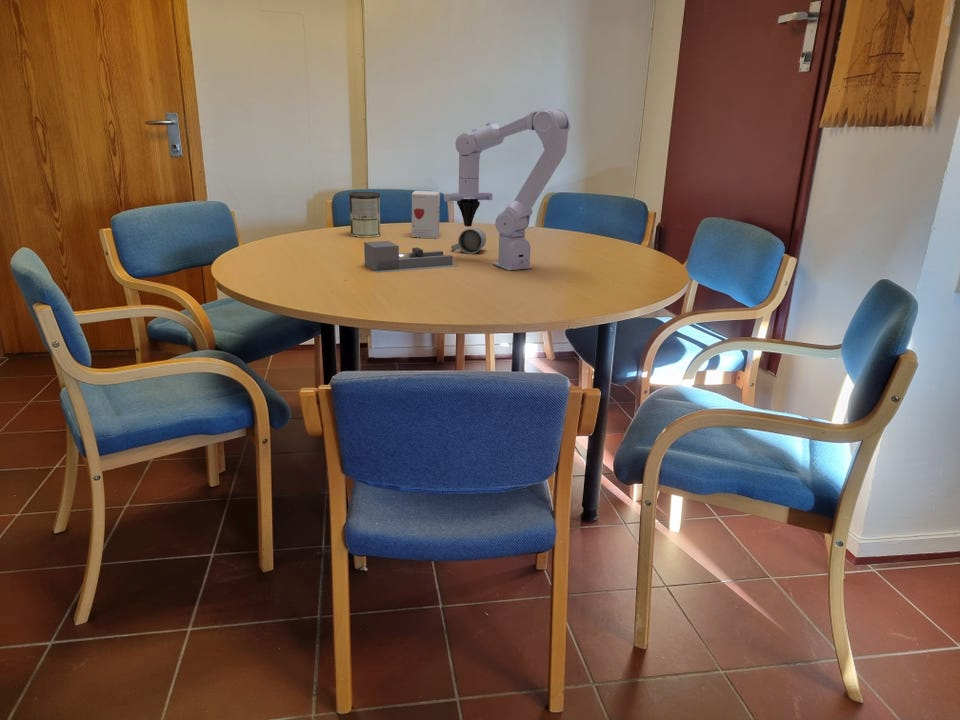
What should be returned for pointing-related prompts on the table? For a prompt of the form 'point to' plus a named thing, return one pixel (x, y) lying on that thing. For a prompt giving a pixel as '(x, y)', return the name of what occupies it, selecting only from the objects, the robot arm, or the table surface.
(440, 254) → the grey slotted fixture
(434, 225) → the supplement box
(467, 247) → the ceramic mug
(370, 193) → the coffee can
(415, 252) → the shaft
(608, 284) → the table surface
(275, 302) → the table surface
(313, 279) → the table surface
